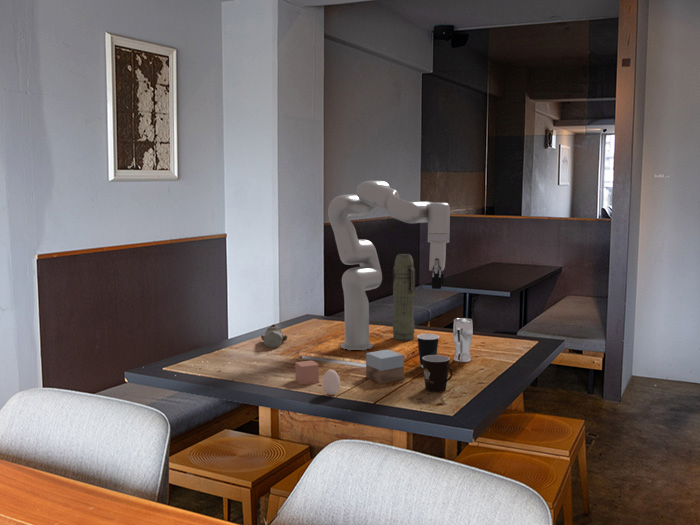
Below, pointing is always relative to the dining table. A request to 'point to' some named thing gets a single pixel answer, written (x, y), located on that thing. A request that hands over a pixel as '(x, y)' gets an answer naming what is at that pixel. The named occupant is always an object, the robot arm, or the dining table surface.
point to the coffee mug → (436, 372)
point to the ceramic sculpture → (273, 337)
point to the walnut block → (385, 374)
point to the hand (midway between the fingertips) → (437, 286)
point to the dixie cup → (427, 345)
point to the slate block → (384, 360)
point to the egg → (331, 382)
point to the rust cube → (307, 372)
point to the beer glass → (462, 339)
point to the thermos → (403, 297)
